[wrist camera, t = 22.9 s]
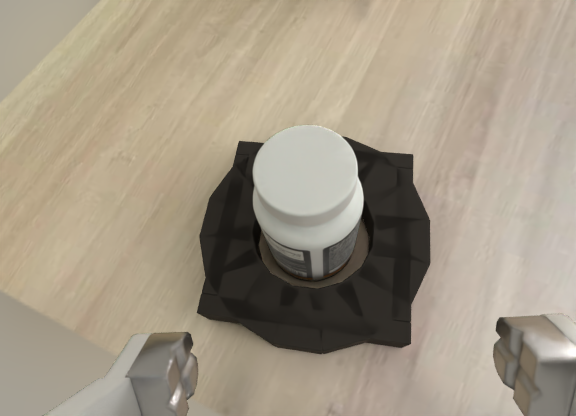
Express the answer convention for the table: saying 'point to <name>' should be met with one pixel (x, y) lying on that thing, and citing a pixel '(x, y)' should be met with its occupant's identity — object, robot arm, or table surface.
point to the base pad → (331, 299)
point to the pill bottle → (308, 200)
